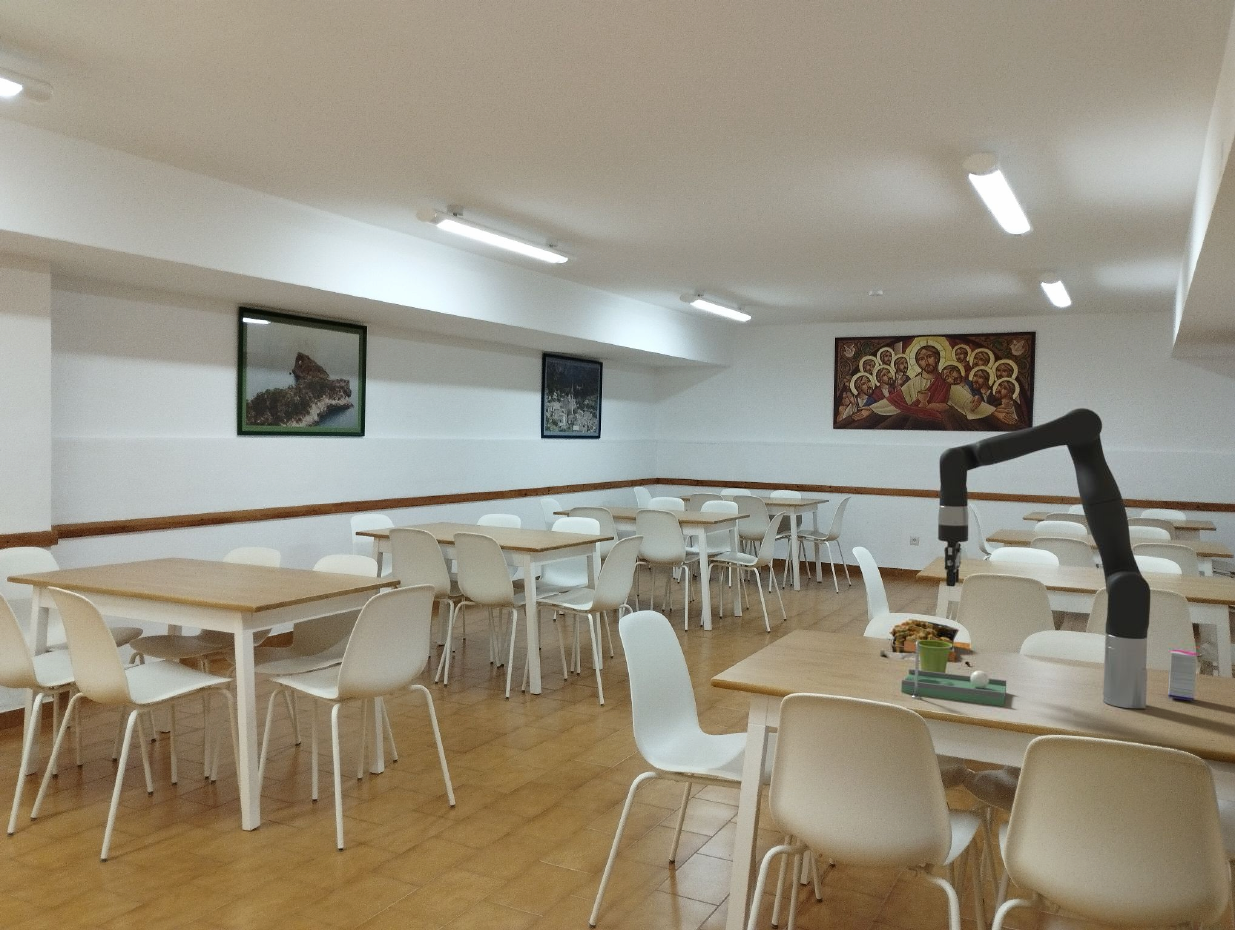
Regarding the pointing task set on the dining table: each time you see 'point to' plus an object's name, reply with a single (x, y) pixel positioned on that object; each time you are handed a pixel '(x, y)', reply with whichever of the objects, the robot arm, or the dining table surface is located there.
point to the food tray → (922, 638)
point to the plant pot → (934, 655)
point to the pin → (915, 647)
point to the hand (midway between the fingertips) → (952, 584)
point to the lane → (955, 687)
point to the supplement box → (1182, 674)
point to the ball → (979, 679)
